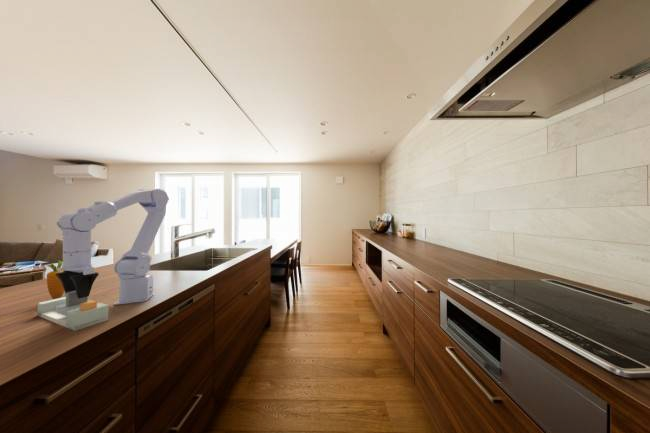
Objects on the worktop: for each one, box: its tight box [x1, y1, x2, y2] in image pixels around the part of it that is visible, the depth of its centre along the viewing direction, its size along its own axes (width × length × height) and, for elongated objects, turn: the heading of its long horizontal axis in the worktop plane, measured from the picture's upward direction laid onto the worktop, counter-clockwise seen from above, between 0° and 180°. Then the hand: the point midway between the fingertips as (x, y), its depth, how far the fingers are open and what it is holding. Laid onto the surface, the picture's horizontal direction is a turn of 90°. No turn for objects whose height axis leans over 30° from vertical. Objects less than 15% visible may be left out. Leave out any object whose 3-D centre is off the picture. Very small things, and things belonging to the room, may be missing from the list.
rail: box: [37, 296, 110, 332], centre depth 67 cm, size 25×7×4 cm, turn 68°
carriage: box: [58, 291, 91, 316], centre depth 66 cm, size 6×6×6 cm
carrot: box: [46, 260, 65, 300], centre depth 81 cm, size 5×5×15 cm
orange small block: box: [80, 299, 98, 311], centre depth 63 cm, size 3×3×4 cm
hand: (77, 295), depth 66 cm, fingers open, 7 cm apart
